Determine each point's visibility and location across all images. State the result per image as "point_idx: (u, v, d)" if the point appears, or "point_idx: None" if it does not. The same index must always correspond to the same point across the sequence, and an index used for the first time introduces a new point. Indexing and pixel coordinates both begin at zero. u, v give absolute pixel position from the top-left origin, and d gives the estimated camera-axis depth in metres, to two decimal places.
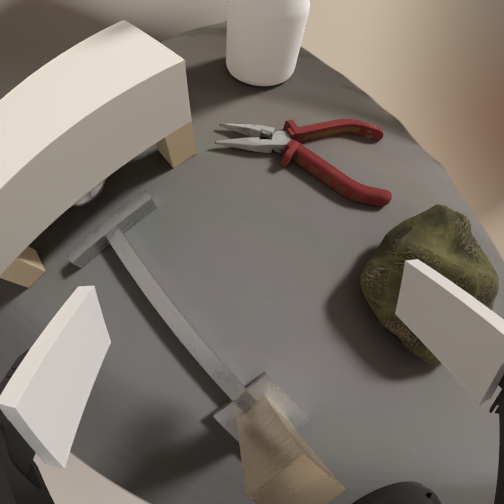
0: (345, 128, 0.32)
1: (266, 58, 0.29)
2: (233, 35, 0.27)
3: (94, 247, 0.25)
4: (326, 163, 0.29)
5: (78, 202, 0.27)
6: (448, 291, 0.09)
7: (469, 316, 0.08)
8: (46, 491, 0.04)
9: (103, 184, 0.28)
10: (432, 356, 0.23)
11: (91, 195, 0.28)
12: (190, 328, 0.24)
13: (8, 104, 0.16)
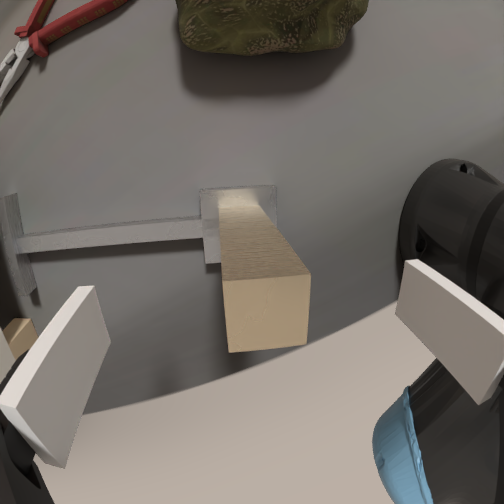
0: None
1: None
2: None
3: (22, 268, 0.22)
4: (68, 14, 0.15)
5: None
6: (448, 291, 0.09)
7: (469, 316, 0.08)
8: (46, 491, 0.04)
9: None
10: (330, 39, 0.17)
11: None
12: (117, 228, 0.22)
13: None
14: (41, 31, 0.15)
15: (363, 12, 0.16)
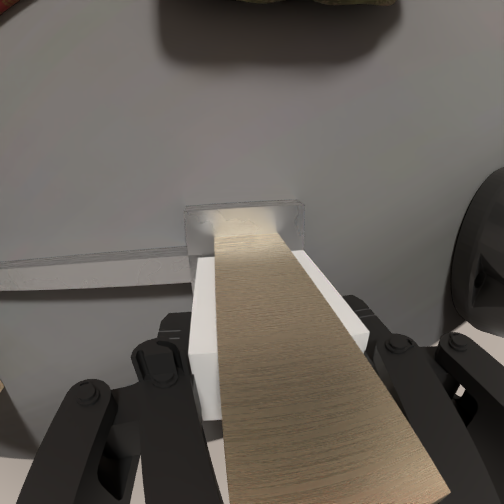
0: None
1: None
2: None
3: None
4: None
5: None
6: None
7: None
8: (210, 459, 0.06)
9: None
10: None
11: None
12: (67, 266, 0.14)
13: None
14: None
15: None
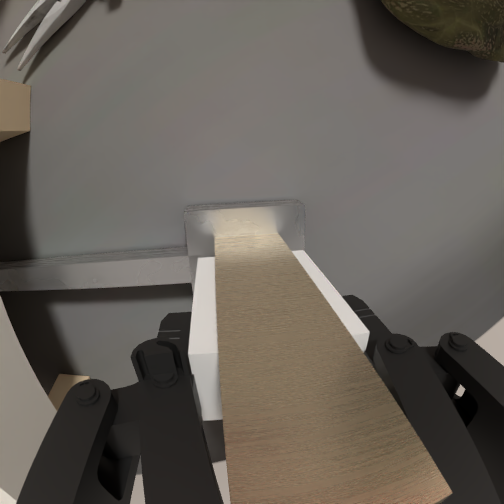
0: None
1: None
2: None
3: None
4: None
5: None
6: None
7: None
8: (210, 459, 0.06)
9: None
10: None
11: None
12: (67, 266, 0.14)
13: None
14: None
15: None
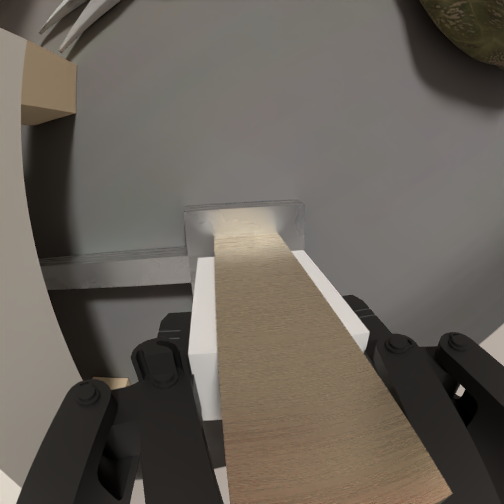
0: None
1: None
2: None
3: None
4: None
5: None
6: None
7: None
8: (210, 459, 0.06)
9: None
10: None
11: None
12: (66, 266, 0.14)
13: None
14: None
15: None
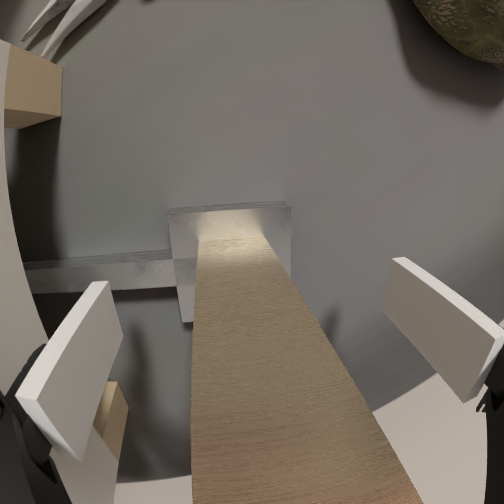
0: None
1: None
2: None
3: None
4: None
5: None
6: (433, 288, 0.09)
7: (453, 313, 0.08)
8: (62, 486, 0.04)
9: None
10: None
11: None
12: (53, 270, 0.14)
13: None
14: None
15: None
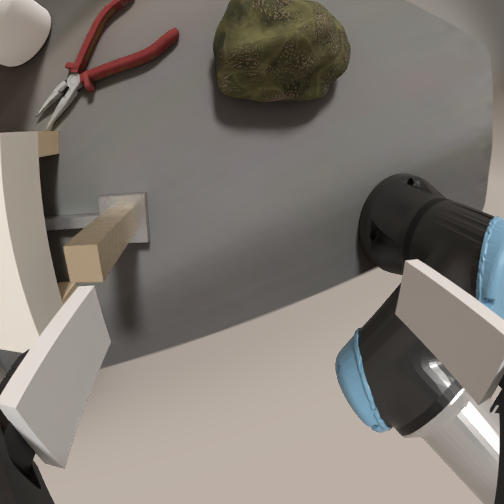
0: (103, 20, 0.24)
1: (25, 39, 0.19)
2: None
3: None
4: (113, 62, 0.26)
5: None
6: (448, 291, 0.09)
7: (469, 316, 0.08)
8: (46, 491, 0.04)
9: None
10: (317, 93, 0.29)
11: None
12: (53, 219, 0.31)
13: None
14: (90, 71, 0.26)
15: (343, 71, 0.28)
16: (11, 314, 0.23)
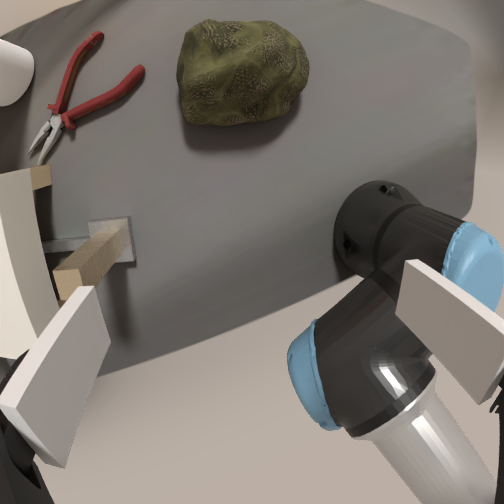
0: (77, 62, 0.28)
1: (11, 83, 0.23)
2: None
3: None
4: (88, 102, 0.30)
5: None
6: (448, 291, 0.09)
7: (469, 316, 0.08)
8: (46, 491, 0.04)
9: None
10: (277, 112, 0.32)
11: None
12: (50, 243, 0.35)
13: None
14: (69, 112, 0.30)
15: (303, 86, 0.31)
16: (16, 327, 0.27)
